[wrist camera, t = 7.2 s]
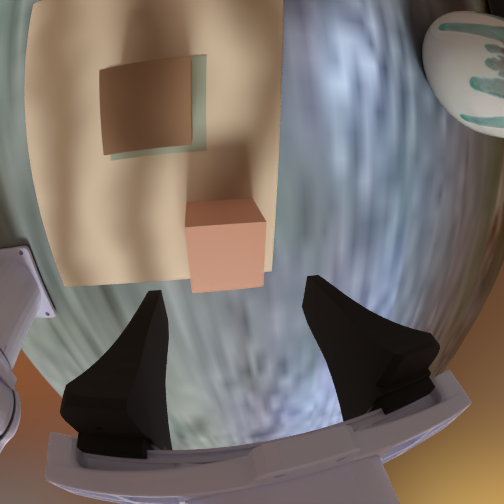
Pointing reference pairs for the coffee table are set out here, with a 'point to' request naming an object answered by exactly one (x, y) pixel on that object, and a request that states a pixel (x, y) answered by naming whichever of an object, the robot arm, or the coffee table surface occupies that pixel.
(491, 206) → the coffee table surface
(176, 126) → the walnut block
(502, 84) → the vase
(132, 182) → the birch board
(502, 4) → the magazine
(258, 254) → the terracotta block
